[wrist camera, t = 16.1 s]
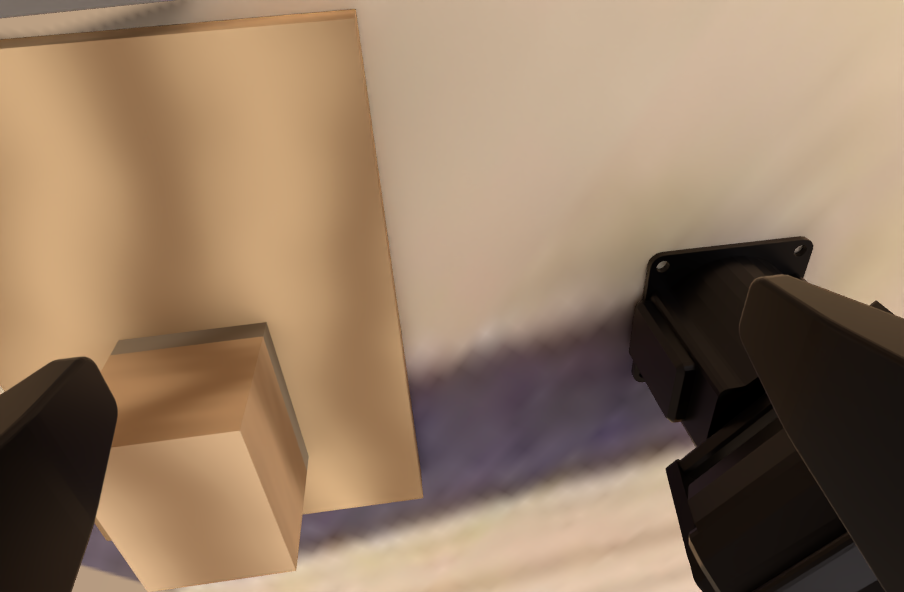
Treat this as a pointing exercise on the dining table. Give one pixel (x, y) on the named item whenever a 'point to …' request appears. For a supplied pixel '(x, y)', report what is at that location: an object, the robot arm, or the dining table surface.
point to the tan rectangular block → (203, 458)
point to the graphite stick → (59, 6)
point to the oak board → (211, 220)
